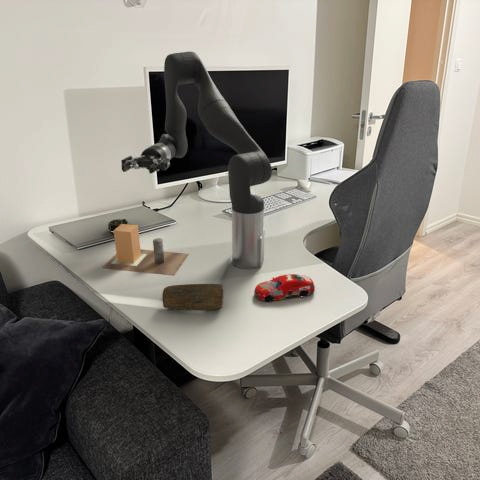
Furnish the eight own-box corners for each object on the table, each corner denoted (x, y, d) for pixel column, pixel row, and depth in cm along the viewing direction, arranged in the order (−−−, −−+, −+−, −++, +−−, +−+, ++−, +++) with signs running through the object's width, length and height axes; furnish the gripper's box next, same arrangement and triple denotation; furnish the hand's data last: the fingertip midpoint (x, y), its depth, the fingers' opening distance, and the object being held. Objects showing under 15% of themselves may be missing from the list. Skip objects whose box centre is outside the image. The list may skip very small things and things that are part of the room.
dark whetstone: (223, 299, 120) (222, 276, 117) (224, 314, 113) (223, 290, 110) (165, 301, 119) (163, 278, 116) (162, 316, 112) (161, 292, 109)
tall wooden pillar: (140, 255, 139) (137, 225, 135) (133, 263, 134) (130, 232, 130) (124, 254, 140) (121, 223, 136) (117, 261, 135) (113, 230, 131)
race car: (257, 305, 117) (258, 288, 115) (251, 292, 123) (251, 276, 121) (317, 297, 121) (318, 280, 119) (308, 284, 127) (309, 268, 125)
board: (189, 258, 141) (188, 232, 138) (174, 280, 129) (172, 252, 125) (122, 251, 145) (119, 227, 142) (102, 272, 133) (98, 245, 129)
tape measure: (130, 234, 158) (128, 224, 157) (109, 236, 156) (108, 226, 155) (128, 227, 164) (127, 217, 163) (108, 229, 162) (107, 219, 161)
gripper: (135, 144, 151) (113, 155, 137) (176, 146, 149) (158, 158, 134) (137, 166, 154) (115, 180, 140) (177, 168, 152) (160, 183, 137)
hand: (136, 169), depth 137 cm, fingers open, 8 cm apart
